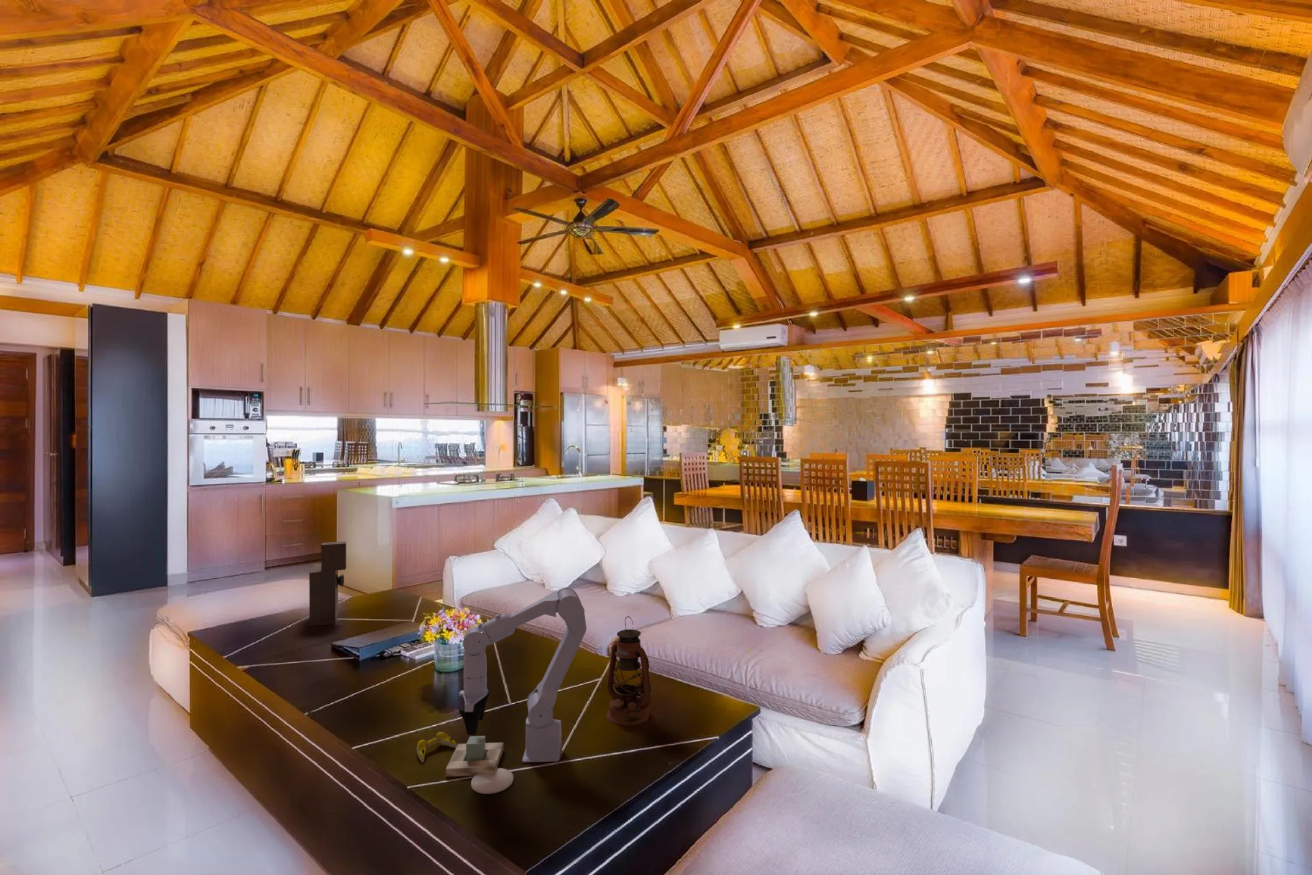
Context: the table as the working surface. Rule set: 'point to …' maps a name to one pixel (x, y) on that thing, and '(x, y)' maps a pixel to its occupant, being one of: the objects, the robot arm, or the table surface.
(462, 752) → the board
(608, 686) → the lantern
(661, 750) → the table surface
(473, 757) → the block
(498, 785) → the coaster
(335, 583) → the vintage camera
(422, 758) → the game controller
